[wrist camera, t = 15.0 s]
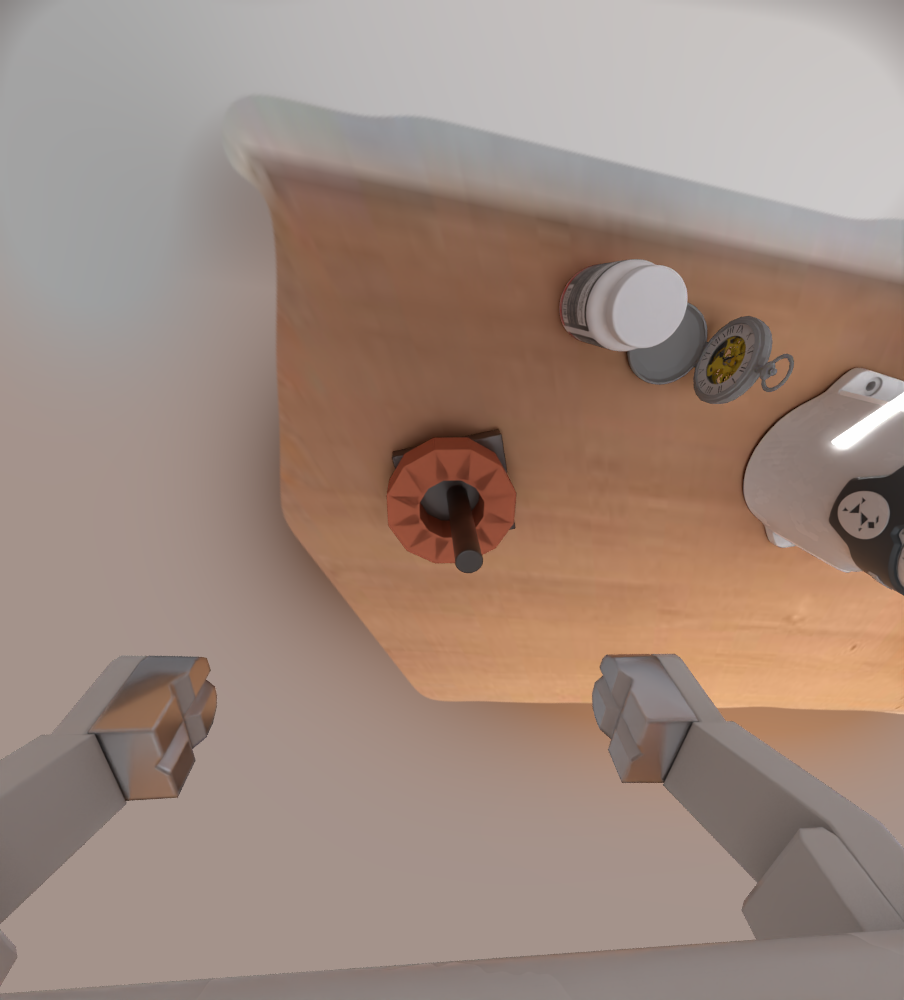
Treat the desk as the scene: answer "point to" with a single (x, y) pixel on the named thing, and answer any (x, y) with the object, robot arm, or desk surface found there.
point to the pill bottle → (623, 304)
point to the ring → (446, 464)
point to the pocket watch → (711, 357)
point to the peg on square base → (460, 505)
